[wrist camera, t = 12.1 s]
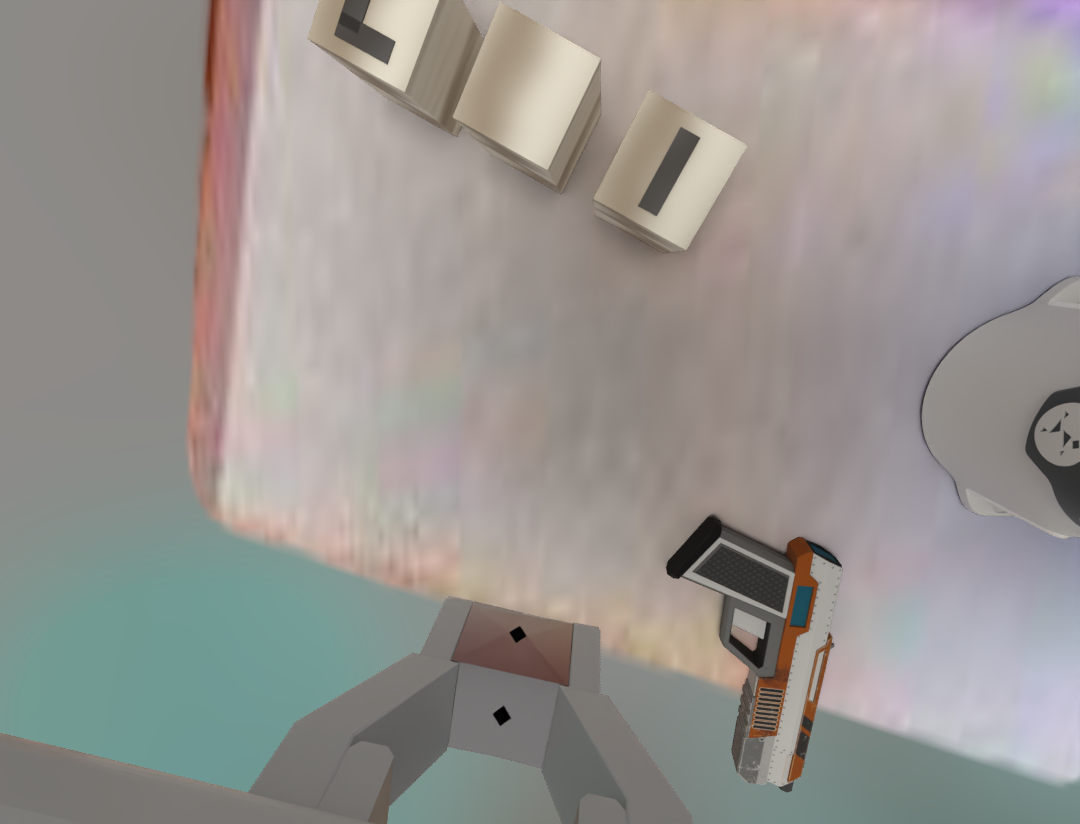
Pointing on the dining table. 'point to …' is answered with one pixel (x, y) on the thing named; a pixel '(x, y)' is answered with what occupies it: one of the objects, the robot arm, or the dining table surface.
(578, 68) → the plain block
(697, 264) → the dining table surface
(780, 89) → the dining table surface
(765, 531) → the dining table surface
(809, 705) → the toy gun
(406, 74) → the block seven
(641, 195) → the block one
